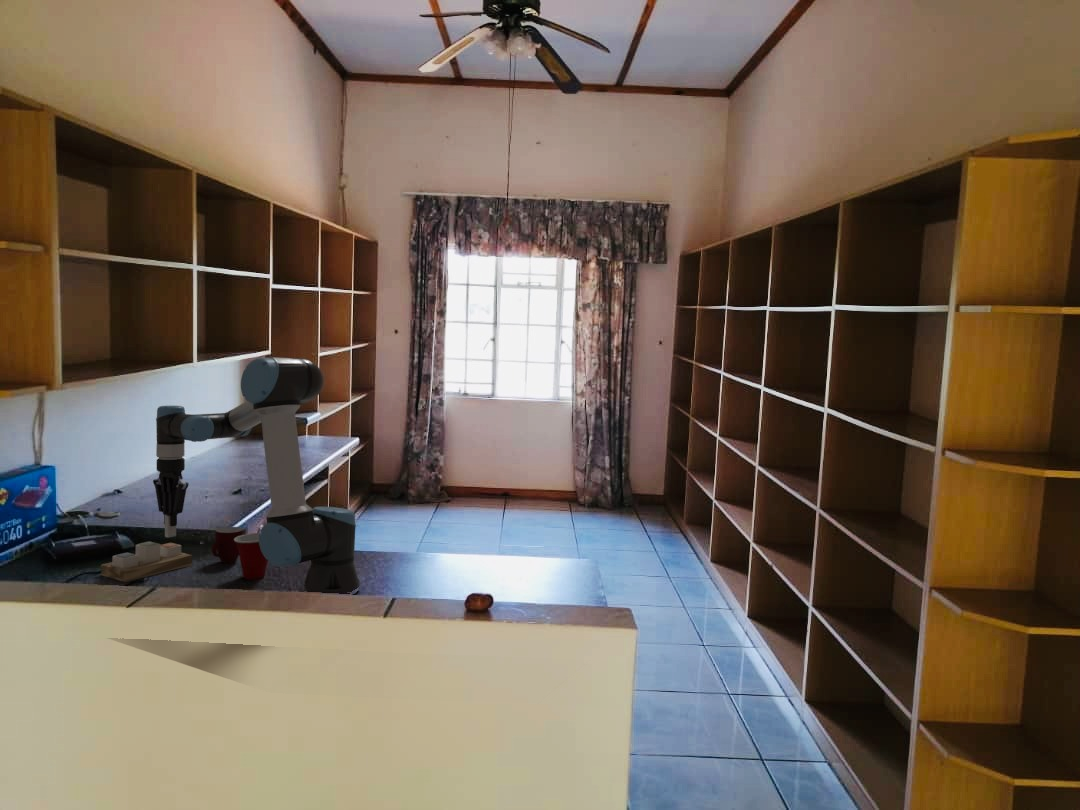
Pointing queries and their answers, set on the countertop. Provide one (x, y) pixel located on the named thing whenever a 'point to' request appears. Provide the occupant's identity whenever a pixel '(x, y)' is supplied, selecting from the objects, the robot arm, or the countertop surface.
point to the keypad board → (146, 568)
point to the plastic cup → (251, 556)
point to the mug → (227, 543)
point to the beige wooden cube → (148, 552)
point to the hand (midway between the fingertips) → (170, 536)
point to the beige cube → (170, 550)
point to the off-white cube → (125, 560)
